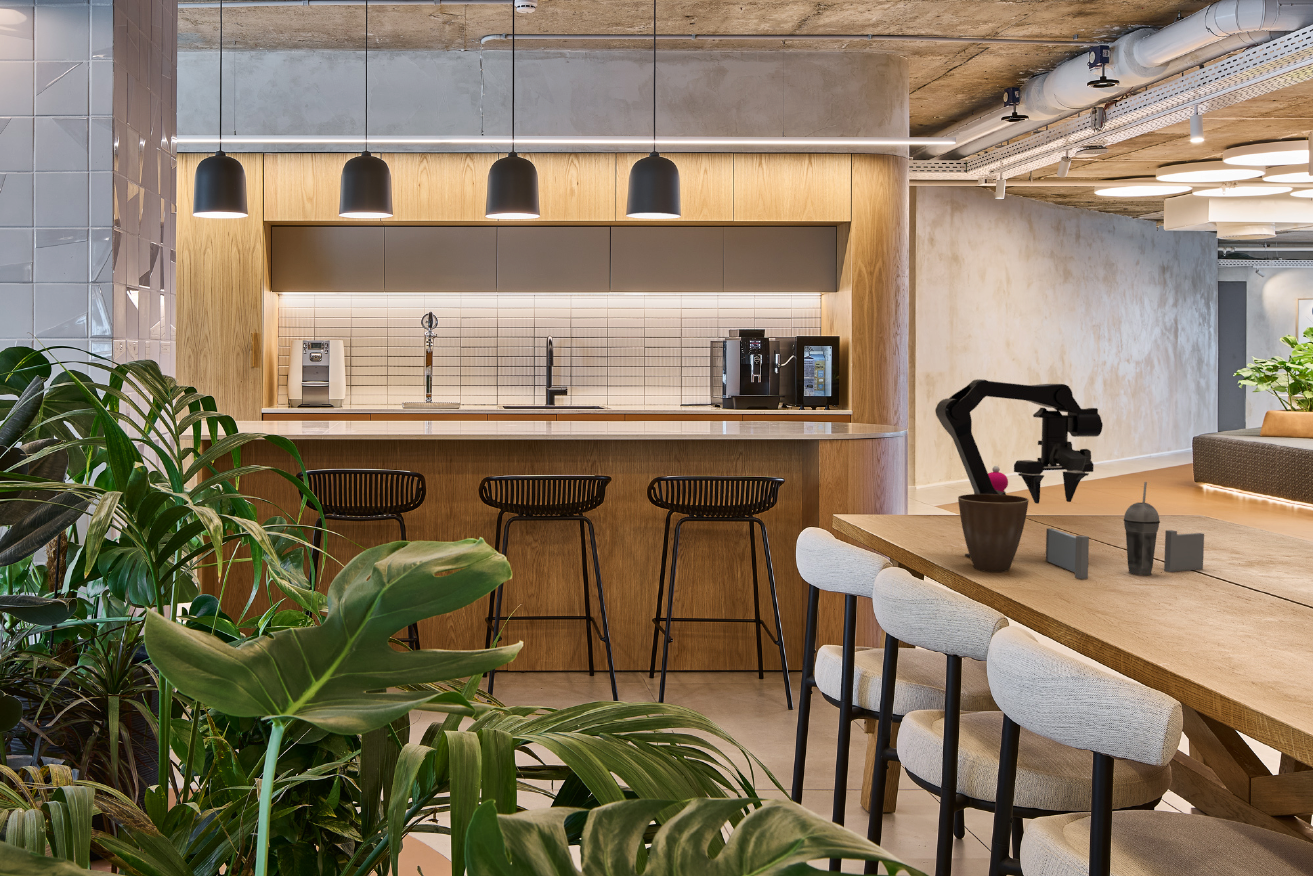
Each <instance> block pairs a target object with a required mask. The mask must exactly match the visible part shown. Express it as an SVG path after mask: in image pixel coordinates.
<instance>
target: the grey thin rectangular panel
mask: <svg viewBox="0 0 1313 876" xmlns="http://www.w3.org/2000/svg"><path fill="white" fill-rule="evenodd" d="M1045 533H1046V534H1045V535H1046V538H1045V539H1046V540H1045V541H1046V542H1045V543H1046V544H1045V562H1049V563H1051V564H1053V565H1056V566H1059V567H1060V568H1063V569H1065V570H1067V571H1071V572H1073V573H1075V557H1076V536H1077V535H1076V536H1075V535H1072V534H1069V533H1066V532H1064V531H1060V530H1058V529H1054V528H1050V527H1049V528H1046V532H1045Z"/></svg>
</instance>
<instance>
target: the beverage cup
mask: <svg viewBox="0 0 1313 876" xmlns="http://www.w3.org/2000/svg"><path fill="white" fill-rule="evenodd" d="M1147 485H1148V482H1147V481H1144V482H1143V494H1142V502H1135V503H1133V504H1131V505H1130V506H1128V508H1127V509H1126V511H1125V513H1124V517H1123V519H1122V520H1123V526H1124V530H1125V540H1126V558H1127V566H1128V574H1130V575H1133V576H1134V575H1135V576H1151V575H1152V572H1153V567H1154V559H1155V551H1156V545H1157V544H1156V541H1157V534H1158V531H1159V527H1160V523H1161V520H1160V516H1159V515H1160V514H1159V513H1158V510H1157V509H1156V508H1155V507H1154V506H1153V505H1151V503H1150V504H1149V503H1147V502H1146V495H1147Z"/></svg>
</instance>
